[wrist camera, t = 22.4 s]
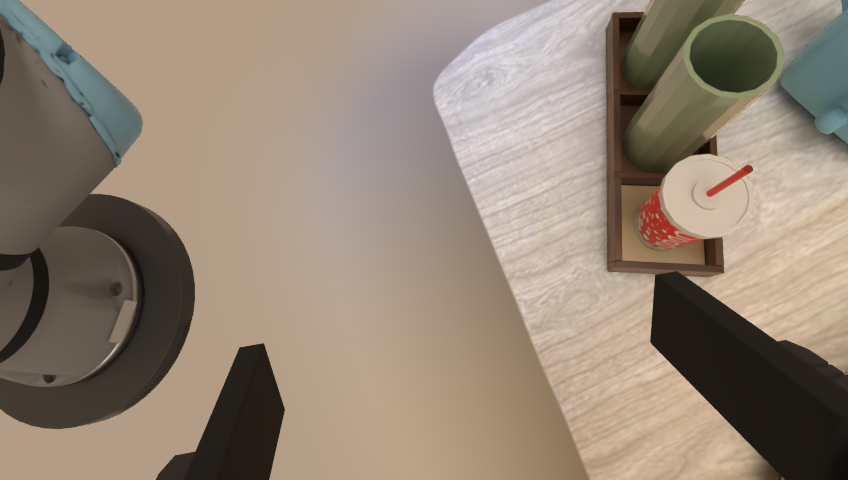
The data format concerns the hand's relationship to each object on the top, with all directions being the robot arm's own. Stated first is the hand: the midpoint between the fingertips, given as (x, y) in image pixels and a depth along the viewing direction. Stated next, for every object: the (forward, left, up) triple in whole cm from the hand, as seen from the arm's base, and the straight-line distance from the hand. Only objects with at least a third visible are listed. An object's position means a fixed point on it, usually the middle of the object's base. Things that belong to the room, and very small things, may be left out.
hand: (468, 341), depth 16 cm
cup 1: (0, +32, -27) cm, 42 cm away
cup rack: (+4, +25, -27) cm, 37 cm away
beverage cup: (+8, +18, -26) cm, 33 cm away
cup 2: (+4, +25, -27) cm, 37 cm away
